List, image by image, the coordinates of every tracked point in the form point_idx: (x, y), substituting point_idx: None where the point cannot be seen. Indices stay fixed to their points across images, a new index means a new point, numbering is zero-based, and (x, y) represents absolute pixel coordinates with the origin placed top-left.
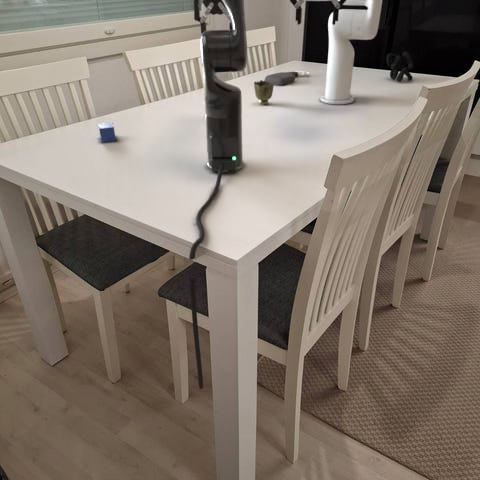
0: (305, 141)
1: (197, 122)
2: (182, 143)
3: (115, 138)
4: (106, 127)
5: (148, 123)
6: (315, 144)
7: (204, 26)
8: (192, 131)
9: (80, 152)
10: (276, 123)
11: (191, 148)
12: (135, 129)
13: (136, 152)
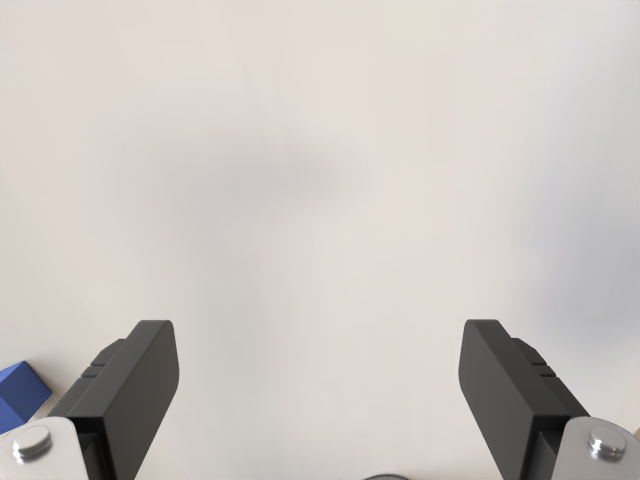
0: (597, 356)
1: (235, 209)
2: (247, 394)
3: (47, 398)
4: (5, 427)
5: (58, 234)
6: (619, 375)
7: (137, 466)
8: (246, 302)
9: None
10: (532, 199)
11: (282, 422)
12: (49, 297)
13: (152, 453)
